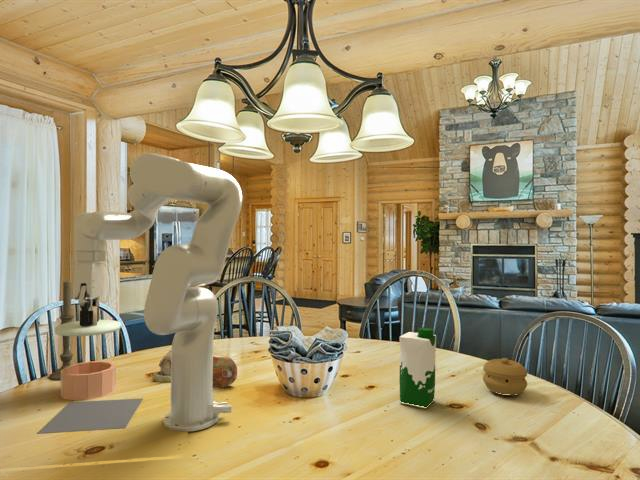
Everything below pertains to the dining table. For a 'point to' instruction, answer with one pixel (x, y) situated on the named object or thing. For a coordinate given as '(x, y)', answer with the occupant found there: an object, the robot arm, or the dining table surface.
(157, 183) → the robot arm
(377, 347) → the dining table surface
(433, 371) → the milk carton
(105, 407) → the mat
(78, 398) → the bowl
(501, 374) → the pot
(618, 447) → the dining table surface
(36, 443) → the dining table surface
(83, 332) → the lid
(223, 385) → the tin
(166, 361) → the ceramic model
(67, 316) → the candlestick holder
